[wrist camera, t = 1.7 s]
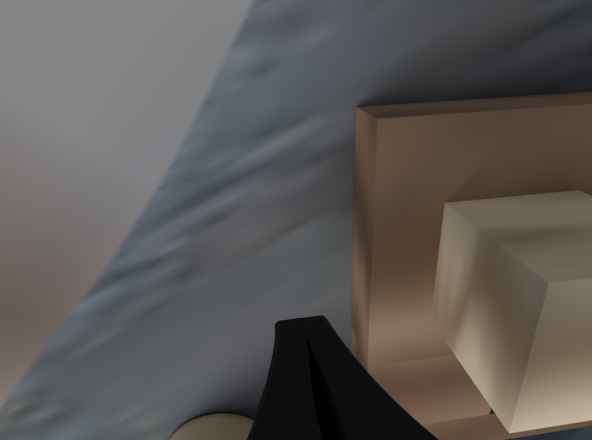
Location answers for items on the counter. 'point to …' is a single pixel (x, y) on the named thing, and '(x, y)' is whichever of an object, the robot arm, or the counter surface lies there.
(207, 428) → the cream domed cylinder
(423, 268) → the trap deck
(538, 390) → the maple block
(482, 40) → the counter surface
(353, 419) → the robot arm
